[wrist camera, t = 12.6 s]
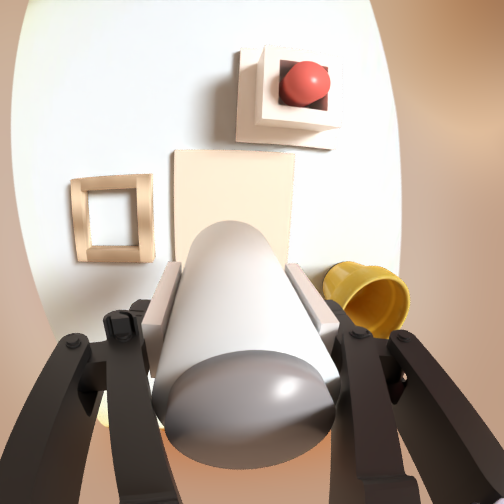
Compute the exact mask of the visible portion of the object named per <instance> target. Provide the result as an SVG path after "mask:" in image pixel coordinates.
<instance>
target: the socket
mask: <svg viewBox="0 0 504 504" xmlns="http://www.w3.org/2000/svg"><path fill="white" fill-rule="evenodd" d="M126 188H137V217H138V235H139V246H92V241H91V232H90V221H89V207H88V191H89V190H106V189H126ZM71 201H72V215H73V226H74V235H75V243H76V251H77V258H78V261H83V262H141V263H152V262H153V261H154V259H155V240H154V217H153V174H131V175H113V176H99V177H87V178H77V179H72V180H71Z"/></svg>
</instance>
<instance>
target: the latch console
mask: <svg viewBox="0 0 504 504" xmlns="http://www.w3.org/2000/svg"><path fill="white" fill-rule="evenodd" d="M302 61H312V62H315V63H317V64H319V65H321V66H322V67H323V68H324V69H325V70H326V71H327V73H328V74H329V77H330V81H331V85H330V89H329V91H328V93H327V94H326V95H325V96H324V97H322V98H320V99H318V100H316V101H315V102H313V103H311V104H309V105H307V106H305V107H303V108H300V107H292V106H288V105H286V104H285V103H284V102H283V101H282V100H281V98H280V96H279V83H280V81H281V80H282V79H283V78H284V77H285V75H286V74H287V73H288V72H289V71H290V70H291V68H292V67H293V66H294V65H295V64H297V63H299V62H302ZM341 102H342V58H341V57H336V56H332V55H327V54H322V53H317V52H312V51H306V50H300V49H293V48H286V47H278V46H269V45H265V46H264V49H250V48H241V50H240V64H239V81H238V99H237V119H236V141H235V142H245V143H264V144H279V145H291V146H302V147H312V148H321V149H329V150H335V144H336V129H337V128H341Z"/></svg>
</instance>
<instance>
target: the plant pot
mask: <svg viewBox="0 0 504 504" xmlns="http://www.w3.org/2000/svg"><path fill="white" fill-rule="evenodd" d="M323 293H324V296H325V299H326V300H330V299H332V300H333V301H335V302H337V303H338V304H339V305H340V306H341V307H342V309H343V310H344V311H345V312H346V315H348V316H349V318H350V319H351V320H352V322H353V323H354V324H355V325H356V326H360V327H364V328H366V329H368V330H369V331H370V332H371V333H372V334H373V337H374V338H382V339H389V336H390V333H391V332H392V331H394V330H399V329H400V328H401V326H402V325H403V323H404V321H405V319H406V317H407V314H408V311H409V307H410V294H409V290H408V288H407V286H406V284H405V283H404V282H403V281H402V280H401V279H400V278H399V277H398V276H396V275H395V274H393V273H392V272H390V271H389V270H387V269H385V268H383V267H379V266H364V265H361V264H358V263H355V262H350V261H346V262H342V263H339V264H337V265H335V266H334V267H332V268H331V269H330V270H329V272H328V273H327V274H326V276H325V278H324V281H323Z"/></svg>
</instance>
